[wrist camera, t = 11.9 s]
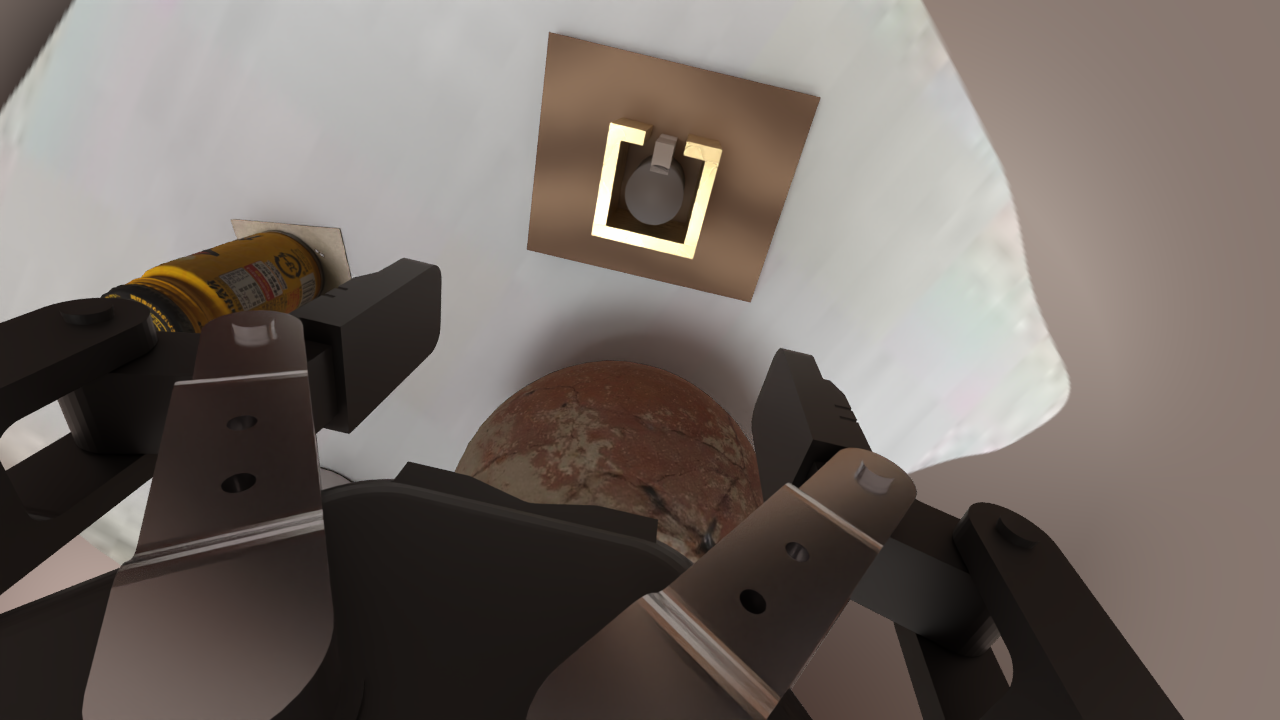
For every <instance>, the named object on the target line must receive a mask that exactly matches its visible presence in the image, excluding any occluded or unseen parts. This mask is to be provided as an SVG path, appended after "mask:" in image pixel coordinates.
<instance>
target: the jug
mask: <svg viewBox="0 0 1280 720" xmlns="http://www.w3.org/2000/svg"><path fill="white" fill-rule="evenodd" d="M455 472H456V473H460V474H464V475H468V476H471V477H473V478H476V479H478V480H480V481H482V482H484V483H486V484H489V485H491V486H493V487H495V488H497V489H499V490H501V491H504V492H506V493H508V494H510V495H512V496H514V497H516V498H519V499H521V500H523V501H526V502H529V503H540V504H570V505H598V506H602V507H606V508H610V509H615V510H619V511H623V512H628V513H632V514H636V515H641V516H645V517H649V518H654V519H658V527H657V538H656V539H657V540H659V541H661V542H663V543H665V544H667V545H668V546H670V547H672V548H674V549H675V550H677V551H678V552H680V553H681V554H683V555H684V556H685V557H687V558H688V559H689V560H691V561H692V562H693V563H695V562H696V561H698V560H699V559H700V558H701V557H702V556H703V555H705V554H706V553H707V552H708V551H709V550H710V549H711V548H713V547H714V546H715V545H716V544H717V543H718V542H719V541H721V540H722V539H723V538H724V537H725V536H726V535H727V534H729V533H730V532H731V531H732V530H733V529H734V528H736V527H737V526H738V525H739V524H740V523H741V522H742V521H744V520H745V519H746V518H747V517H748V516H749V515H750V514H752V513H753V512H754V511H755V510H756V509H757V508H758V507H760V506H761V505H762V504H763V503H764V502H763V496H762V489H761V483H760V477H759V471H758V465H757V459H756V454H755V451H754V449H753V448H752V446H751V444H750V442H749V441H748V439H747V438H746V436H745V435H744V433H743V432H742V430H741V429H740V427H739V426H738V424H737V423H736V422H735V421H734V420H733V418H732V417H731V416H730V415H729V414H728V413H727V412H726V411H725V410H724V409H723V408H722V407H721V406H720V405H718V404H717V403H716V402H715V401H714V400H713V399H712V398H711V397H710V396H708V395H707V394H706V393H704V392H703V391H701V390H700V389H699V388H697V387H696V386H695V385H693V384H691V383H690V382H688V381H686V380H685V379H683V378H681V377H679V376H676V375H674V374H672V373H670V372H668V371H665V370H662V369H659V368H656V367H652V366H649V365H643V364H638V363H633V362H627V361H609V360H606V361H597V362H589V363H584V364H579V365H575V366H570V367H567V368H564V369H561V370H558V371H555V372H553V373H550V374H548V375H546V376H544V377H542V378H540V379H538V380H536V381H535V382H533V383H531V384H529V385H528V386H526V387H524V388H523V389H521V390H519V391H518V392H517V393H515V394H514V395H513V396H511V397H510V398H509V399H507V400H506V401H505V402H504V403H503V404H501V405H500V406H499V407H498V408H497V409H496V410H495V411H494V412H493V413H492V414H491V415H490V416H489V417H488V418H487V420H486V421H485V422H484V423H483V424H482V425H481V426H480V428H479V430H478V431H477V433H476V434H475V436H474V437H473V438H472V440H471V441H470V442H469V443H468V446H467V448H466V450H465V452H464V454H463V456H462V458H461V460H460V461H459V464H458V466H457V468H456V470H455Z"/></svg>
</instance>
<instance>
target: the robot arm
mask: <svg viewBox="0 0 1280 720" xmlns="http://www.w3.org/2000/svg"><path fill="white" fill-rule="evenodd" d="M440 323H441V271H440V269H439V267H438V266H436V265H432V264H428V263H424V262H420V261H415V260H411V259H407V258H402V259H400V260H398V261H397V262H395V263H393V264H391V265H390V266H388V267H386V268H384V269H383V270H381V271H379V272H376V273H372V274H368V275H363V276H359V277H355V278H353V279H351V280H349V281H347V282H345V283H343V284H342V285H340V286H338V289H337V288H334V289H332V290H331V291H329V292H327V293H325V296H323V295H321V296H320V297H318V298H316V299H314V300H312V301H310V302H309V303H307V304H305V305H303V306H301V307H299V308H298V309H296V310H294V311H292V312H290V313H288V314H286V313H282V312H277V311H268V310H251V311H241V312H235V313H230V314H226V315H223V316H220V317H217V318H215V319H213V320H211V321H209V322H208V323H207V324H205V325H204V327H203V328H202V330H201V333H185V332H168V331H155V328H154V324H153V320H152V317H151V313H150V310H149V308H148V307H147V306H145V305H144V304H142V303H139V302H136V301H132V300H127V299H119V298H88V299H78V300H71V301H66V302H61V303H57V304H53V305H49V306H46V307H43V308H40V309H38V310H35V311H32V312H29V313H27V314H24V315H21V316H18V317H16V318H13V319H10V320H8V321H5V322H2V323H0V438H1V436H2V435H3V433H4V432H5V431H6V430H7V429H8V428H9V427H10V426H11V425H12V424H13V423H15V422H16V421H18V420H20V419H21V418H23V417H25V416H27V415H29V414H31V413H33V412H35V411H37V410H39V409H40V408H42V407H44V406H46V405H48V404H50V403H52V402H54V401H56V400H58V402H59V405H60V407H61V409H62V412H63V414H64V417H65V419H66V421H67V424H68V426H69V429H70V431H71V433H69V434H67V435H65V436H64V437H62V438H60V439H59V440H57V441H55V442H54V443H52V444H50V445H49V446H47V447H45V448H43V449H42V450H40V451H38V452H37V453H35V454H33V455H32V456H30V457H28V458H27V459H25V460H23V461H22V462H20V463H18V464H16V465H15V466H13V467H11V468H10V469H8V470H6V471H5V469H4V467H3V465H2V463H1V462H0V595H1V594H2V593H4V592H5V591H6V590H7V589H9V588H10V587H11V586H13V585H14V584H15V583H17V582H18V581H19V580H20V579H22V578H23V577H24V576H25V575H27V574H28V573H29V572H31V571H32V570H33V569H35V568H36V567H37V566H38V565H40V564H41V563H42V562H44V561H45V560H46V559H47V558H49V557H50V556H51V555H53V554H54V553H55V552H57V551H58V550H59V549H60V548H62V547H63V546H64V545H66V544H67V543H68V542H69V541H71V540H72V539H73V538H75V537H76V536H77V535H79V534H80V533H81V532H82V531H84V530H85V529H86V528H88V527H89V526H90V525H91V524H93V523H94V522H95V521H97V520H98V519H99V518H100V517H102V516H103V515H104V514H106V513H107V512H108V511H109V510H111V509H112V508H113V507H115V506H116V505H117V504H119V503H120V502H121V501H122V500H124V499H125V498H126V497H128V496H129V495H130V494H131V493H133V492H134V491H135V490H137V489H138V488H139V487H140V486H142V485H143V484H144V483H146V482H147V481H148V480H150V479H151V478H152V477H153V478H152V483H151V487H150V492H149V496H148V500H147V505H146V509H145V513H144V518H143V522H142V527H141V531H140V535H139V540H138V544H137V548H136V551H135V554H134V556H133V557H132V559H131V560H129V561H127V562H124V563H123V564H122V565H121V567H120V568H118V569H115V570H113V571H110V572H107V573H105V574H102V575H100V576H97V577H95V578H92V579H89V580H87V581H84V582H82V583H79V584H77V585H74V586H71V587H69V588H66V589H64V590H61V591H58V592H56V593H53V594H51V595H48V596H46V597H43V598H41V599H38V600H35V601H33V602H30V603H28V604H25V605H22V606H20V607H17V608H15V609H12V610H10V611H7V612H4V613H2V614H0V720H813V719H812V718H811V717H810V715H809V714H808V713H807V711H806V710H805V708H804V707H803V706H802V704H801V703H800V701H799V700H798V699H797V697H796V696H795V695H794V693H793V692H792V690H791V689H792V687H793V686H794V684H795V683H796V681H797V680H798V678H799V676H800V675H801V673H802V672H803V670H804V669H805V667H806V666H807V664H808V663H809V661H810V660H811V658H812V657H813V655H814V654H815V652H816V651H817V649H818V648H819V646H820V645H821V643H822V642H823V640H824V639H825V637H826V636H827V634H828V633H829V631H830V629H831V628H832V627H833V625H834V624H835V622H836V620H837V619H838V617H839V616H840V614H841V613H842V611H843V610H844V608H845V607H846V605H847V604H848V602H849V601H850V600H852V601H854V602H857V603H858V604H860V605H862V606H864V607H866V608H868V609H870V610H872V611H874V612H876V613H878V614H880V615H882V616H884V617H886V618H888V619H890V620H892V621H893V622H894V625H895V629H896V633H897V636H898V639H899V642H900V646H901V648H902V652H903V655H904V658H905V662H906V665H907V668H908V672H909V675H910V678H911V681H912V684H913V688H914V691H915V694H916V697H917V700H918V704H919V707H920V710H921V713H922V717H923V720H1184V719H1183V717H1182V716H1181V715H1180V713H1179V712H1178V711H1177V709H1176V708H1175V707H1174V705H1173V704H1172V703H1171V701H1170V700H1169V698H1168V697H1167V696H1166V694H1165V693H1164V691H1163V690H1162V689H1161V687H1160V686H1159V685H1158V683H1157V682H1156V680H1155V679H1154V678H1153V676H1152V675H1151V674H1150V672H1149V671H1148V669H1147V668H1146V667H1145V665H1144V664H1143V663H1142V661H1141V660H1140V659H1139V657H1138V656H1137V654H1136V653H1135V652H1134V650H1133V649H1132V648H1131V646H1130V645H1129V644H1128V642H1127V641H1126V639H1125V638H1124V637H1123V635H1122V634H1121V632H1120V631H1119V630H1118V629H1117V627H1116V626H1115V624H1114V623H1113V621H1112V620H1111V619H1110V617H1109V616H1108V615H1107V613H1106V612H1105V611H1104V609H1103V608H1102V606H1101V605H1100V604H1099V602H1098V601H1097V600H1096V598H1095V597H1094V595H1093V594H1092V593H1091V591H1090V590H1089V589H1088V587H1087V586H1086V584H1085V583H1084V582H1083V580H1082V579H1081V578H1080V576H1079V575H1078V574H1077V572H1076V571H1075V569H1074V568H1073V567H1072V565H1071V564H1070V563H1069V561H1068V560H1067V558H1066V557H1065V556H1064V554H1063V553H1062V552H1061V550H1060V549H1059V548H1058V546H1057V545H1056V544H1055V542H1054V541H1053V540H1052V539H1051V538H1050V537H1049V536H1048V535H1047V534H1046V533H1045V532H1044V531H1042V530H1041V529H1040V528H1039V527H1037V526H1036V525H1035V524H1033V523H1032V522H1030V521H1029V520H1027V519H1026V518H1024V517H1023V516H1021V515H1019V514H1017V513H1015V512H1013V511H1011V510H1009V509H1007V508H1004V507H1001V506H999V505H995V504H991V503H983V502H980V503H975V504H973V505H971V506H970V507H969V509H968V510H967V512H966V513H965V514H964V516H963V517H962V518H961V519H958V518H956V517H954V516H951V515H949V514H947V513H945V512H943V511H940V510H938V509H935V508H933V507H931V506H929V505H927V504H924V503H922V502H920V501H918V500H916V499H915V498H916V496H917V490H916V486H915V484H914V482H913V481H912V479H911V478H910V477H909V476H908V475H907V473H906V472H905V471H904V470H902V469H901V468H900V467H899V466H897V465H896V464H895V463H893V462H892V461H890V460H889V459H887V458H885V457H883V456H881V455H879V454H877V453H874V452H872V450H871V448H870V446H869V444H868V442H867V440H866V438H865V436H864V434H863V432H862V430H861V428H860V426H859V423H856V421H857V419H856V417H855V415H854V413H853V411H851V407H850V405H849V403H848V401H847V399H846V397H845V395H844V394H843V393H842V392H841V391H840V390H839V389H838V388H837V387H836V386H835V385H834V384H833V383H832V382H831V381H829V380H825V379H823V378H822V375H821V373H820V371H819V369H818V366H817V364H816V362H815V359H814V357H813V356H812V355H808V354H804V353H800V352H796V351H791V350H787V349H783V348H780V349H779V350H778V351H777V352H776V354H775V356H774V358H773V361H772V363H771V366H770V368H769V371H768V373H767V376H766V378H765V381H764V384H763V386H762V389H761V391H760V394H759V396H758V399H757V402H756V404H755V408H754V411H753V417H752V434H753V440H754V446H755V452H756V459H757V465H758V471H759V477H760V483H761V489H762V496H763V502H764V503H763V504H762V505H761V506H760V507H758V508H757V509H756V510H755V511H754V512H753V513H752V514H750V515H749V516H748V517H747V518H746V519H745V520H744V521H742V522H741V523H740V524H739V525H738V526H737V527H736V528H734V529H733V530H732V531H731V532H730V533H729V534H727V535H726V536H725V537H724V538H723V539H722V540H721V541H719V542H718V543H717V544H716V545H715V546H714V547H713V548H711V549H710V550H709V551H708V552H707V553H706V554H705V555H703V556H702V557H701V558H700V559H699V560H698V561H696V562H695V563H693V562H692V561H691V560H689V559H688V558H687V557H685V556H684V555H683V554H681V553H680V552H678V551H677V550H675V549H674V548H672V547H670V546H668V545H667V544H665V543H663V542H661V541H659V540H657V539H656V538H657V527H658V519H654V518H649V517H645V516H641V515H636V514H632V513H628V512H623V511H619V510H615V509H610V508H606V507H602V506H598V505H570V504H540V503H529V502H526V501H523V500H521V499H519V498H516V497H514V496H512V495H510V494H508V493H506V492H504V491H501V490H499V489H497V488H495V487H493V486H491V485H489V484H486V483H484V482H482V481H480V480H478V479H476V478H473V477H471V476H468V475H464V474H460V473H456V472H451V471H447V470H443V469H438V468H434V467H430V466H425V465H421V464H417V463H412V462H407V464H406V465H405V466H404V468H403V469H402V470H401V471H400V473H399V474H398V475H397V477H396V478H395V479H378V480H366V481H358V482H352V483H351V482H350V481H348V480H347V479H345V478H344V477H342V476H340V475H338V474H336V473H334V472H331V471H328V470H325V469H321V468H320V463H319V454H318V446H317V438H316V433H318V432H319V431H320V430H321V429H322V428H326V429H330V430H335V431H339V432H343V433H347V434H350V433H351V432H352V431H353V430H354V429H355V428H356V427H357V426H358V425H359V424H360V423H361V422H362V421H363V420H364V419H365V418H366V417H367V416H368V415H369V414H370V413H371V412H372V411H373V410H374V409H375V408H376V407H377V406H378V405H379V404H380V403H381V402H382V401H383V400H384V399H385V398H386V397H387V396H388V395H389V394H390V393H391V392H392V391H393V390H394V389H395V388H396V387H397V386H398V385H399V384H400V383H402V382H403V381H404V380H405V379H406V378H407V377H408V376H409V375H410V374H411V373H412V372H413V371H414V370H415V369H416V368H417V367H418V366H419V365H420V364H421V363H422V362H423V361H424V360H425V359H426V358H427V357H428V356H429V355H430V354H431V353H432V351H433V350H434V348H435V346H436V344H437V342H438V338H439V334H440ZM1000 636H1001V637H1002V639H1003V640H1004V643H1005V645H1006V646H1007V649H1008V650H1009V653H1010V655H1011V658H1012V663H1013V679H1012V683H1011V686H1010V687H1009V685H1008V683H1007V681H1006V679H1005V676H1004V674H1003V672H1002V670H1001V668H1000V666H999V664H998V662H997V660H996V658H995V655H994V653H993V651H992V649H991V647H990V646H991V645H992V644H993V643H994V642H995V641H996V640H997V639H998V638H999V637H1000Z"/></svg>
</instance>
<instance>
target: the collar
mask: <svg viewBox="0 0 1280 720" xmlns="http://www.w3.org/2000/svg"><path fill="white" fill-rule="evenodd" d="M652 128H653V125H652V124H647V123H643V122H639V121H635V120H631V119H627V118H620V119H618V120H615V121H613V122H611V123H610V127H609V133H608V139H607V145H606V151H605V157H604V163H603V169H602V175H601V181H600V187H599V193H598V199H597V205H596V211H595V217H594V223H593V229H592V235H594V236H598V237H603V238H607V239H611V240H615V241H619V242H624V243H628V244H632V245H636V246H640V247H644V248H649V249H653V250H657V251H661V252H665V253H670V254H674V255H678V256H682V257H686V258H690V259H693V256H694V253H695V249H696V245H697V242H698V238H699V234H700V230H701V227H702V223H703V219H704V216H705V212H706V208H707V205H708V201H709V197H710V194H711V190H712V186H713V183H714V179H715V175H716V172H717V168H718V164H719V161H720V157H721V153H722V148H721V145H720V142H719V141H717V140H713V139H709V138H705V137H701V136H697V135H693V134H689V133H688V138H687V142H686V146H685V151H684V156H688V157H692V158H696V159H701V160H702V162H701V166H700V170H699V174H698V178H697V182H696V186H695V190H694V194H693V197H692V201H691V205H690V209H689V213H688V217H687V221H686V224H685V223H680V222H676V221H672V220H669V221H668V222H666V223H663V224H659V225H649V224H645V223H643V222H641V221H639V220H638V219H636V218H635V217H634V216H633V215H632V214H631V212H630V211H629V210H626V209H622V208H618V202H619V197H620V192H621V186H622V181H623V176H624V170H625V165H626V160H627V154H628V149H629V144H630V143H634V144H639V145H644V144H645V143H646V142H647V141H648V140H649V138H650V137H651V133H652Z"/></svg>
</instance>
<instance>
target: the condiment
mask: <svg viewBox="0 0 1280 720" xmlns="http://www.w3.org/2000/svg"><path fill="white" fill-rule="evenodd" d="M231 222H232V225H233V228H234V231H235V234H236V236H237V240H234V241H232V242H228V243H226V244H222V245H219V246H216V247H214V248H211V249H207V250H203V251H202V252H198V253H195V254H192V255H189V256H186V257H182V258H178V259H176V260H173V261H170V262H168V263H163V264H161V265H159V266H156V267H154V268H152V269H150V270H148V271H146V272H145V273H144V275H143V276H142V277H141V278H137V279H134V280H132V281H131V282H129V283H127V284H125V285H120V286H117V287H116V288H112V289H111V290H110V291H109V292H108V293H105V294H103V295H102V296H101V298H119V299H127V300H132V301H136V302H139V303H142V304H144V305H145V306H147V307H148V308H149V310H150V313H151V317H152V320H153V324H154V328H155V331H168V332H185V333H201V330H202V328H203V327H204V325H205V324H207V323H208V322H209V321H211V320H213V319H215V318H217V317H220V316H223V315H226V314H230V313H235V312H241V311H251V310H268V311H277V312H282V313H286V314H288V313H290V312H292V311H294V310H296V309H298V308H299V307H301V306H303V305H305V304H307V303H309V302H310V301H312V300H314V299H316V298H318V297H320V296H321V295H323V296H325V293H327V292H329V291H331V290H332V289H334V288H337V289H338V286H340V285H342V284H343V283H345V282H347V281H349V280H351V277H350V272H349V266H348V263H347V260H346V256H345V249H344V245H343V243H342V238H341V234H340V229H336V228H324V227H311V226H299V225H291V224H281V223H269V222H259V221H247V220H231ZM315 249H316V250H317V251H318V252H319V253H322V254H323V255H324V257H323V256H321V255H320V254H319V253H317V252H316V251H315Z"/></svg>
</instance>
